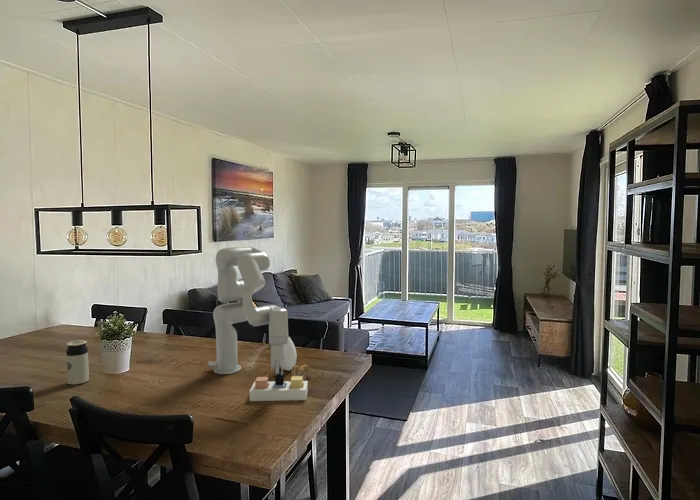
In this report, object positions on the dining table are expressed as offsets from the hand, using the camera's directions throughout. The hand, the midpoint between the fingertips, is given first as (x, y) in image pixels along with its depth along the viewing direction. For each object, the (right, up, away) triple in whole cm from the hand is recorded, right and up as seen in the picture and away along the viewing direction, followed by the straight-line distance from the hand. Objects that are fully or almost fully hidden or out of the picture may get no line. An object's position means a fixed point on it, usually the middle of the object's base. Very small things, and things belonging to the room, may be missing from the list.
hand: (279, 384), depth 174 cm
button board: (0, -5, 0) cm, 5 cm away
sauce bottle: (-1, -3, +31) cm, 31 cm away
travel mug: (-92, -5, +17) cm, 93 cm away
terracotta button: (-7, -2, 0) cm, 7 cm away
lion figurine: (+7, -4, +15) cm, 17 cm away
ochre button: (+7, -2, 0) cm, 7 cm away
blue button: (0, -4, 0) cm, 4 cm away
